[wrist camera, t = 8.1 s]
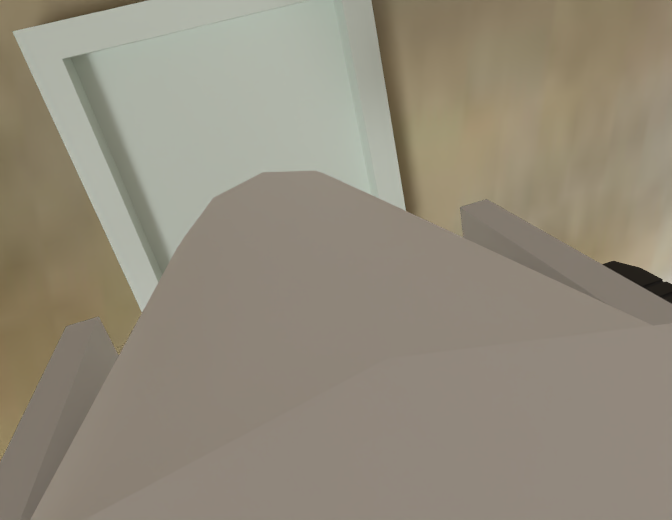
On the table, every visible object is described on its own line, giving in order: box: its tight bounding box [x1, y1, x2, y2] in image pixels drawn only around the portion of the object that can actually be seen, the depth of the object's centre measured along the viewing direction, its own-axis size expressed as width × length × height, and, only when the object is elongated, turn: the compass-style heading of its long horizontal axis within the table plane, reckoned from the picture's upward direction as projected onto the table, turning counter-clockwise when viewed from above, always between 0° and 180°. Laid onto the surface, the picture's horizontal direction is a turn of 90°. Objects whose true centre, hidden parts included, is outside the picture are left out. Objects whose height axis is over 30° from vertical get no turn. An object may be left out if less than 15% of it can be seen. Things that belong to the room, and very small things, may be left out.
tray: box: [12, 0, 406, 312], centre depth 30 cm, size 18×18×3 cm
